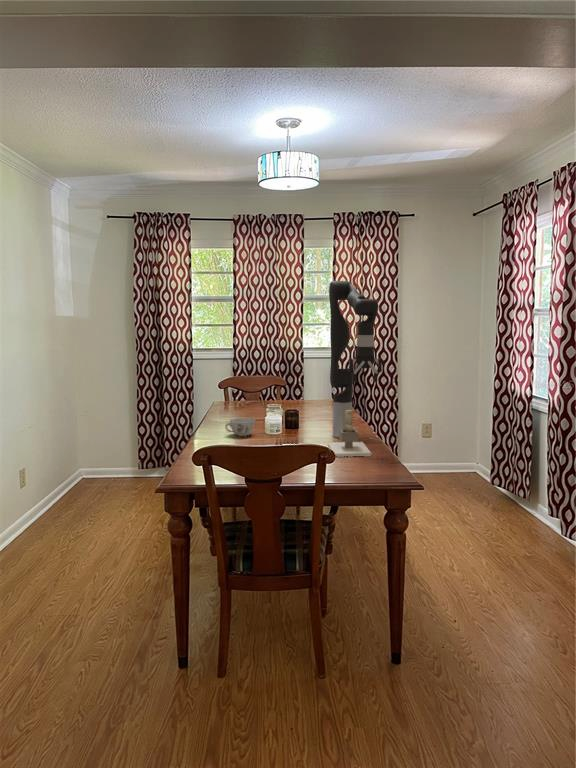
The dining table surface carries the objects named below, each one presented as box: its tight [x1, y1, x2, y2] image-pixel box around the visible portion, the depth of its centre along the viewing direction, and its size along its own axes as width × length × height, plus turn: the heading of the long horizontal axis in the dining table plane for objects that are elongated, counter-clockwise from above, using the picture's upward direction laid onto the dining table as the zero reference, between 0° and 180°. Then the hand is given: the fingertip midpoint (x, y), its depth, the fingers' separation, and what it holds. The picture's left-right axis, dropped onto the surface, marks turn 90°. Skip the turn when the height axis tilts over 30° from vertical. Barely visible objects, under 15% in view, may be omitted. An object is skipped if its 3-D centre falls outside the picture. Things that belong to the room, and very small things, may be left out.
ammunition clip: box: [274, 435, 299, 446], centre depth 232 cm, size 11×2×12 cm, turn 117°
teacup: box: [225, 417, 256, 437], centre depth 288 cm, size 15×12×8 cm
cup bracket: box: [327, 428, 372, 458], centre depth 257 cm, size 20×16×9 cm
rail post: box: [345, 409, 354, 432], centre depth 256 cm, size 3×3×12 cm
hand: (365, 382), depth 257 cm, fingers open, 8 cm apart
